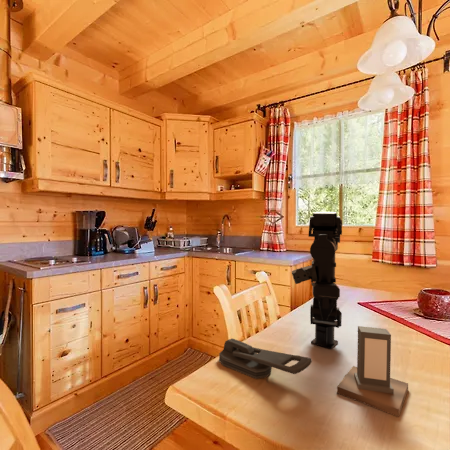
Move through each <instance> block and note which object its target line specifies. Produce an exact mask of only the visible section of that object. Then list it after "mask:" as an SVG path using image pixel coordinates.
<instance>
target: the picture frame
mask: <svg viewBox="0 0 450 450" xmlns="http://www.w3.org/2000/svg"><path fill="white" fill-rule="evenodd" d="M391 348H392V334H391V333H390V332H389V331H388V329H387V328H381V327H372V326H371V327H370V326H359V325H358V326H357V354H356V355H357V357H356V359H357V362H356V363H357V365H356V367H357V373H354V378H355V381H356V383H357V386H358V389H364V390H371V391H378V392H384V393H391V394H394V389H393V387H392V385H391V384H390V378H391V360H392V359H391V356H392V355H391V351H392V349H391Z"/></svg>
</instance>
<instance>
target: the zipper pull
mask: <svg viewBox="0 0 450 450" xmlns="http://www.w3.org/2000/svg"><path fill="white" fill-rule="evenodd" d="M218 355H219V357H218V358H219V359H218V360H219V362H220V364H221V365H222V366H223V367H225V368H228V369H231V370H233V371H235V372H238V373H240V374H241V375H242V374H243V375H245V376H247V377H250V378H251V379H255V380H257V379H263V378H267V377H269V376H271V374H272V369H273V368H274V369H277V370H279V371H281V372H286V373H289V374H292V375H296V374H298V373H302V371H304V370H306V369H307V368H308V367H309V366H310V365H311V363H312V361H313V360H312V358H311V357H305V356H303V355H302V356H300V355H295V354H290V353H285V352H278V351H275V350H274V351H273V350H270V349H269V350H268V349H263V348H258V347H253V346H252V345H250V344H248V343H245V342H243V341H241V340H238V339H235V338H232V337H231V338H229V339H227V340H225V342H224V345H223V349H222V350H221V351H220V352H219V353H218ZM292 361H293V362H294V361H296V363H295V364H293V365H290V366H289V365H287V364H288V363H290V362H292Z"/></svg>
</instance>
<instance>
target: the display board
mask: <svg viewBox="0 0 450 450" xmlns="http://www.w3.org/2000/svg"><path fill="white" fill-rule="evenodd" d="M354 373H357V366H355V365H353V366H352V367H351V368H350V369H349V370H348V371H347V373H346V374H345V375H344V377H343V378H342V380H341V381H340V382H339V384H338V385H337V387H336V394H338V395H341V396H344V397H347V398H349V399H351V400H354V401H356V402H359V403H362V404H364V405H367V406H369V407H372V408H374V409H377V410H380V411H381V412H382V411H383V412H385V413H387V414H389V415H393V416H395V417H398V418H399V417H400V414H401V412H402V408H403V405H404V403H405V399H406V397H407V394H408V392H409V391H408V390H409V382H406V381H401V380H398V379H395V378H392V377H390V384H391V385H392V387H393V389H394V394H391V393H384V392H378V391H371V390H364V389H358V386H357V383H356V381H355V378H354Z"/></svg>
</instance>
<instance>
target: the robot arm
mask: <svg viewBox="0 0 450 450" xmlns="http://www.w3.org/2000/svg"><path fill="white" fill-rule="evenodd" d="M342 235H343V220H342V219H341V216H340V215H338V212H336V211H313V212H312V215H309V226H308V235H307V236H308V237H310V238H314V239H313V242H312V244H311V246H310V248H309V253H310V256H311V257H312V260H311V265H308V266H303V267H300V268H296V269H294V270H292V271H291V276H292V278H293V281H294V283H295V285H297V284H301V283H303V282H306V281H309V280H310V284H311V286H312V295H313V298H312V304H310V307H309V308H310V309H309V311H310V312H309V313H310V315H309V316H310V321H309V322H310V325H315V327H314V328H315V329H314V332H315V333H314V338H313V339H312V340H310V343H311V344H312V345H316V346H320V347H323V348H326V349H329V350H332V349H333V348H334V347H335V346H336V345H338V343H339V340H336V339H335V328H337V329H339V328H341V327H342V311H341V310H340V307H338V300H339V298H340V297H341V295H340V294H341V289H340V287H339V286H338V285H337V278H336V268H337V263H336V252H337V250H338V248H339V244H340V243H341V236H342Z"/></svg>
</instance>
